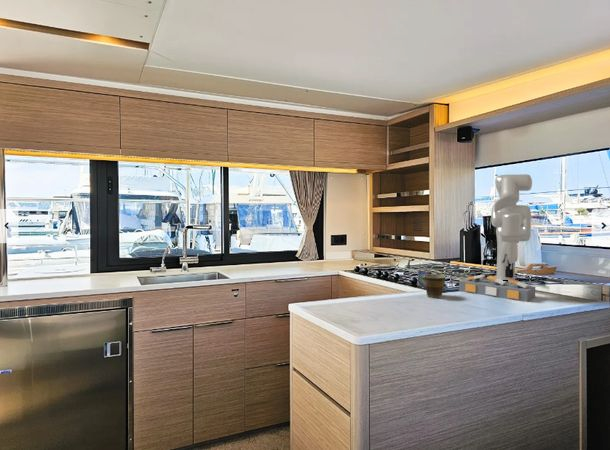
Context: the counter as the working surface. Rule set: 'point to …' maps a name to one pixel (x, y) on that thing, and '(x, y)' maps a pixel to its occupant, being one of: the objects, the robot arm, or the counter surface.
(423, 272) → the flask
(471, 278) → the switch
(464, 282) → the switch box
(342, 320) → the counter surface
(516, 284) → the switch
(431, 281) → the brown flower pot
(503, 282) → the switch
